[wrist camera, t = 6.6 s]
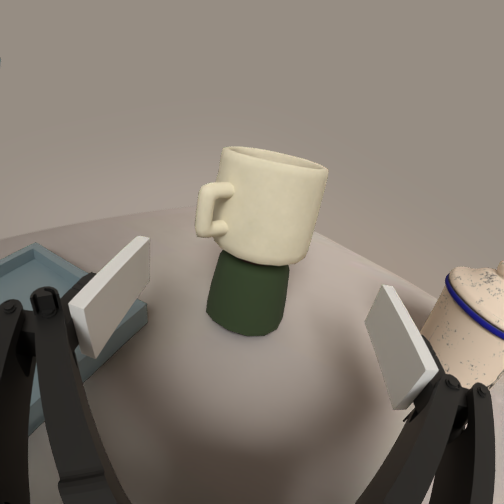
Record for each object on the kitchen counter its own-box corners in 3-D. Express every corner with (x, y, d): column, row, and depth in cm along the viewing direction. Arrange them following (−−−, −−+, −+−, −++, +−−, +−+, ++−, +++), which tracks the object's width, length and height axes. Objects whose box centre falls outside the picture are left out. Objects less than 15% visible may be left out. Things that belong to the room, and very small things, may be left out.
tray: (-73, 325, 10) (-81, 309, 9) (38, 257, 24) (36, 242, 23) (0, 464, 6) (-16, 450, 5) (147, 322, 20) (146, 303, 19)
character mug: (260, 279, 29) (288, 151, 23) (314, 317, 25) (360, 174, 19) (163, 311, 22) (174, 142, 16) (216, 371, 17) (251, 165, 12)
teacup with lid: (462, 442, 12) (565, 317, 7) (379, 386, 18) (458, 247, 13) (481, 364, 20) (537, 269, 15) (421, 325, 26) (467, 227, 21)
